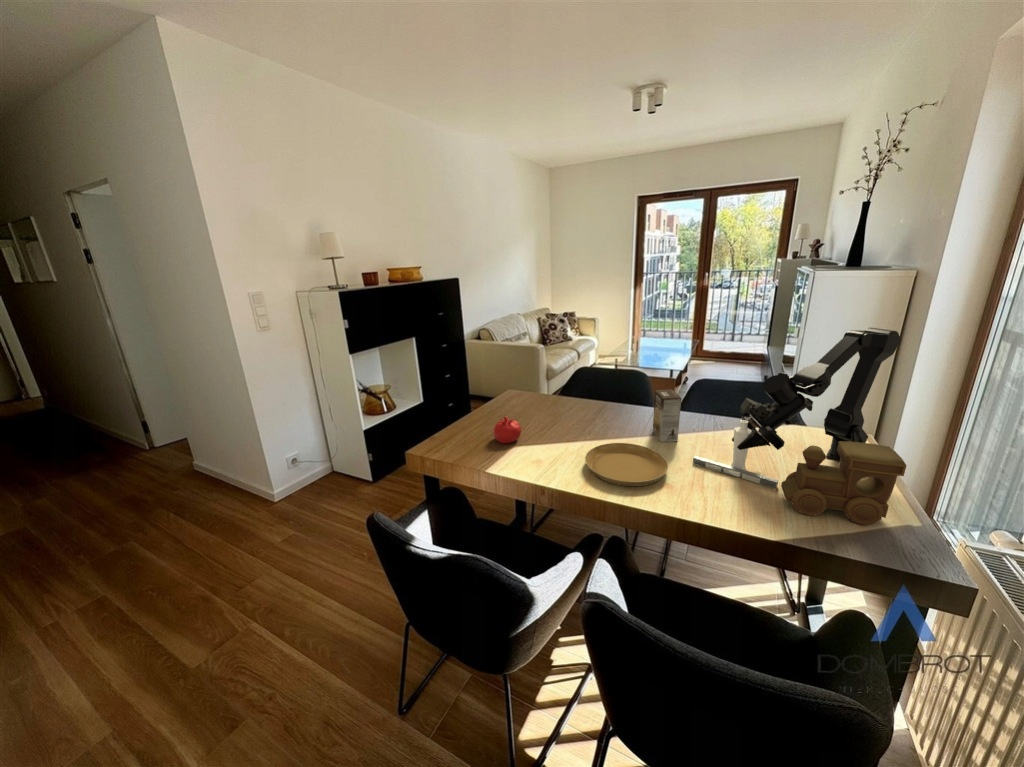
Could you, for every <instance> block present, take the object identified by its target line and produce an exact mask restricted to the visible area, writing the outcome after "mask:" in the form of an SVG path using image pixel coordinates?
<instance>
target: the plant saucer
mask: <svg viewBox="0 0 1024 767" xmlns="http://www.w3.org/2000/svg"><path fill="white" fill-rule="evenodd" d="M584 458H585V459H584V461H585V464H586V465H587V467H588V469H589V470H590V471H591V472H592V474H594V475H595V476H596V477H597V478H599V479H602V481H603V480H604V481H605V482H608V483H610V484H613V485H617V486H624V487H643V486H646V485H649V484H653V483H655V482H657V481H659V480H660V479H661V478H663V477H664V476H665V475H666V473H667V472H668V469H669V463H668V461H667V460H666V457H664V456H663V455H662V454H661V453H659V452H658V451H656V450H654V449H653V448H649V447H646V446H644V445H640V444H635V443H628V442H611V443H610V442H609V443H604V444H600V445H597V446H594V447H593V448H591V449H590V450H588V452H587V453H586V455H585V457H584Z"/></svg>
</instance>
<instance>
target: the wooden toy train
mask: <svg viewBox="0 0 1024 767" xmlns="http://www.w3.org/2000/svg"><path fill="white" fill-rule="evenodd" d="M837 452H838V454H839V456H840V457H841V458H840V461H839V463H838V467H836V466H832V465H831V466H830V465H823V464H822V463H823V462H824V461H825V460H826V458H827V457H826V455H827V454H825V452H824V450H823V449H822V447H820V446H817V445H809V446H808V447H806V448H805V449H803V451H802V457H803V459H804V461H805V462H797V465H796V468H795V471H793V472H791V473H789V474H788V475H787V476H786V478H785V480H782V482H781V485H780V487H781V489H782V493H783V495H784V498H785V502H789V503H791V504H792V506H793V508H794V510H796V511H797V512H799V513H801V515H805V516H817V515H820V514H822V513H824V511H825V510H826V509H829V510H834V511H835V510H837V511H842V512H844V514H845V516H846V518H848V519H849V520H850V521H851V522H853V523H855V524H858V525H864V526H865V525H866V526H868V525H873V524H877V523H879V521H881V519H882V518H887V513H888V510H889V506H890V505H889V504H888V501H889V499H890V498H891V496H892V493H893V491H894V488H895V484H896V481H897V478H898V477H904V476H905V473H906V469H907V466H908V465H907V464H906V463H905V461H904V459H903V457H901V455H899V454H898V452H896V451H895V450H894V449H893V448H892V447H890V446H888V445H882V444H876V443H870V442H869V443H868V442H866V443H860V442H849V441H839V442H838V447H837Z"/></svg>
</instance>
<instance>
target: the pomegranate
mask: <svg viewBox="0 0 1024 767" xmlns="http://www.w3.org/2000/svg"><path fill="white" fill-rule="evenodd" d="M509 418H510V417H508V416H503V419H502V418H498V419H499V421H497V423H496V424H495V425H494V428H493V436H494V438H495V440H496V441H497V442H499V443H501V444H510V443H513V442H516V441H517V440H519V439H520V436H521V433H522V427H521V425H520V423H519V422H518V421H516V419H514V418H511V419H509Z"/></svg>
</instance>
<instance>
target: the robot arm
mask: <svg viewBox="0 0 1024 767" xmlns="http://www.w3.org/2000/svg"><path fill="white" fill-rule="evenodd" d="M901 343H902V337H901V335H900V334H899V332H898V331H897V330H891V329H885V328H877V327H868V328H866V329H865V330H857V329H856V330H853V329H852V330H848V331H846V332H845V333H844V335H843V337H842V338H841V339H840V340H839V341H838V342H837V343H835V345H834V346H833V347H832V348H831V349H830V350H828V351H827V353H825V355H823V356H822V357H821V358H820V359H819V360H818V361H816V362H815V363H814V364H811V365H809V366H805V367H803V368H802V369H801V370H799V371H797V372H795V373H794V375H791V376H789V375H788V373H785V372H782V371H780V372H779V373H778V374H777V375H776V374H775V375H772V376H769V377H768V378H766V379H764V381H763V383H762V385H761V386H762V387H761V388H762V391H764V392H765V393H766V394H767V396H769V398H770V399H772V401H774V402H773V403H772V404H771V403H769V402H768V403H765V404H761V403H759V402H757V401H755V400H752V399H750V398H747V397H746V398H745V399H744V400H743V402H742V403H741V405H740V407H739V408H740V410H739V412H740V413H741V414H742V415H741V420H746V421H748V426H747V428H748V429H750V430H752V432H751V435H749V436H748V437H747V438H746V439H745V440H744V441H743V442H741V443H740V444H739V445H738V446H737V448H738V449H739V450H742V449H747V448H748V449H751V448H752V449H753V448H757V447H764V446H765V447H766V446H768V447H770V446H771V445H772V446H773V447H774V449H776V450H777V451H779V450H780V449H782V448H783V447H784V446H785V443H786V442H785V441H784V439H783V438H781V436H780V435H779V434H778V431H777V429H778V428H779V427H781V426H783V425H784V424H786V425H787V426H788V425H790V424H791V421H790V420H791V419H792V418H793V417H795V416H796V415H798V414H799V413H801V412H803V410H805V409H807V411H809V412H811V411H812V410H813V405H814V401H813V400H812V399H810V398H809V397H805V396H804V395H806V396H810V397H814V398H815V397H816V398H818V397H820V396H822V395H823V394H824V393H825V392H826V391H827V389H828V388H829V387H830V385H831V384H832V377H833V376H834V375H835V374H836V373H837V372H838V371H839V370H840V369H841V368H842V367H843V366H844V365H845V364H846V363H848V362H849V361H850V360H851V359H852V358H853V357H854V356H855V355H857V353H858V356H859V358H858V361H857V363H856V365H855V368H854V371H853V372H852V374H851V378H850V379H849V382H848V385H847V387H846V390H845V391H844V394H843V397H842V400H841V402H840V404H839V405H837V406H836V407H834V408H832V407H830V408H828V410H827V412H826V413H827V414H826V416H825V418H824V419H823V421H824V422H823V427H824V434H825V435H827V436H829V437H832V439H831V445H830V448H829V450H828V451H827V453H826V454H825V455H826V458H827V459H831V460H835V461H838V462H840V458H841V457H840V456H839V454H838V452H837V447H838V442H839V441H849V442H860V443H867V441H868V439H869V436H868V434H867V432H866V431H865V430H864V428H863V426H864V424H865V419H864V415H863V412H862V409H863V406H864V404H865V402H866V400H867V398H868V395H869V394H870V391H871V389H872V386H873V384H874V381H875V379H876V377H877V374H878V372H879V369H880V367H881V365H882V364H883V362H885V361H886V360H887V359H888V358H890V357H892V356H893V355H894V354H895V352H896V350H897V349H898V347H899V346H900V344H901ZM757 428H758V429H757ZM731 441H732V442H733V443H734V436H733V437H732V438H731Z"/></svg>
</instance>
